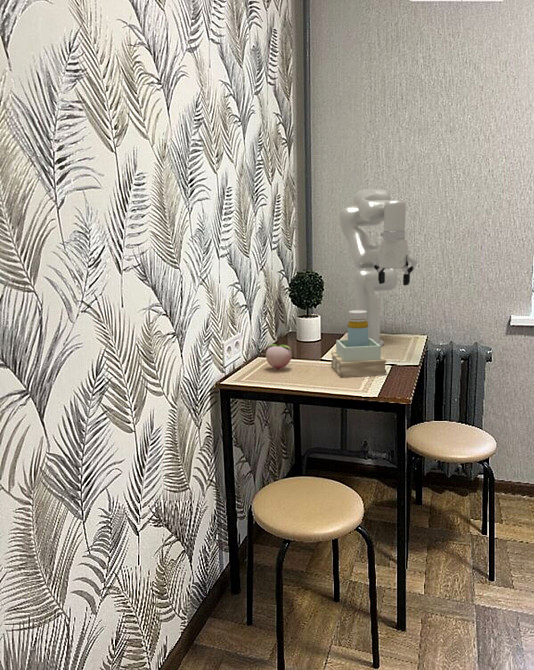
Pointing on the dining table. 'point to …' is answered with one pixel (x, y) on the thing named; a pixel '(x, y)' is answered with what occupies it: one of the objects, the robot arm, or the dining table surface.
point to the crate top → (358, 351)
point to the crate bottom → (358, 367)
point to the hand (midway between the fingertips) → (393, 284)
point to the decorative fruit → (278, 355)
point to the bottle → (357, 328)
